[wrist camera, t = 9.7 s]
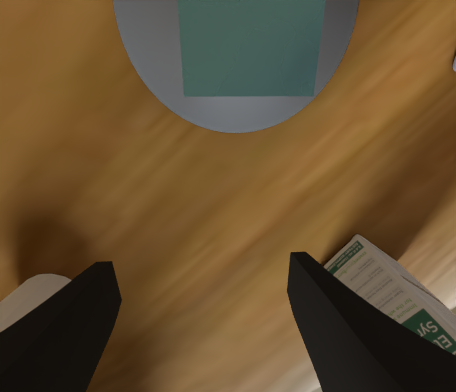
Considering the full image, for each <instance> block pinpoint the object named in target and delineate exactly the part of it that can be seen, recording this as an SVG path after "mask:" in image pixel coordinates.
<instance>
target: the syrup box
mask: <svg viewBox="0 0 456 392" xmlns="http://www.w3.org/2000/svg"><path fill="white" fill-rule="evenodd" d="M323 267H324V268H325V269H326V270H328V271H329V272H330V273H331V274H332V275H334V276H335V277H336V278H337V279H338V280H340V281H341V282H342V283H343V284H345V285H346V286H347V287H348V288H350V289H351V290H352V291H354V292H355V293H356V294H358V295H359V296H360V297H362V298H363V299H364V300H366V301H367V302H369V303H370V304H371V305H373V306H374V307H376V308H377V309H378V310H380V311H381V312H383V313H384V314H386V315H388V316H389V317H391V318H392V319H394V320H395V321H397V322H398V323H400V324H402V325H403V326H405V327H406V328H408V329H410V330H411V331H413V332H415V333H416V334H418V335H420V336H421V337H423V338H425V339H427V340H429V341H430V342H432V343H434V344H436V345H437V346H439V347H441V348H443V349H445V350H446V351H448V352H450V353H452V354H454V355H456V315H455V314H454V313H453V312H451V311H450V310H449V309H448V308H447V307H446V306H445V305H444V304H443V303H442V302H441V301H440V300H439V299H438V298H436V297H435V296H434V295H433V294H432V293H431V292H430V291H429V290H428V289H427V288H425V287H424V286H423V285H422V284H421V283H420V282H419V281H418V280H417V279H416V278H415V277H414V276H412V275H411V274H410V273H409V272H408V271H407V270H406V269H405V268H404V267H403V266H402V265H401V264H399V263H398V262H397V261H396V260H394V259H393V258H391V257H390V256H389V255H387V254H386V253H384V252H383V251H382V250H380V249H379V248H377V247H376V246H375V245H373V244H372V243H371V242H369V241H368V240H366V239H365V238H364V237H362V236H361V235H358V234H356V235H355V236H354V237H353V238H352V239H351V241H350V242H349V243H348V244H347V245H346V246H345V247H343V248H342V249H341V250H340V251H339V252H338V253H337V254H336V255H335V256H334V257H333V258H332V259H331V260H330V261H329V262H328V263H327V264H325V265H324V266H323Z"/></svg>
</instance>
